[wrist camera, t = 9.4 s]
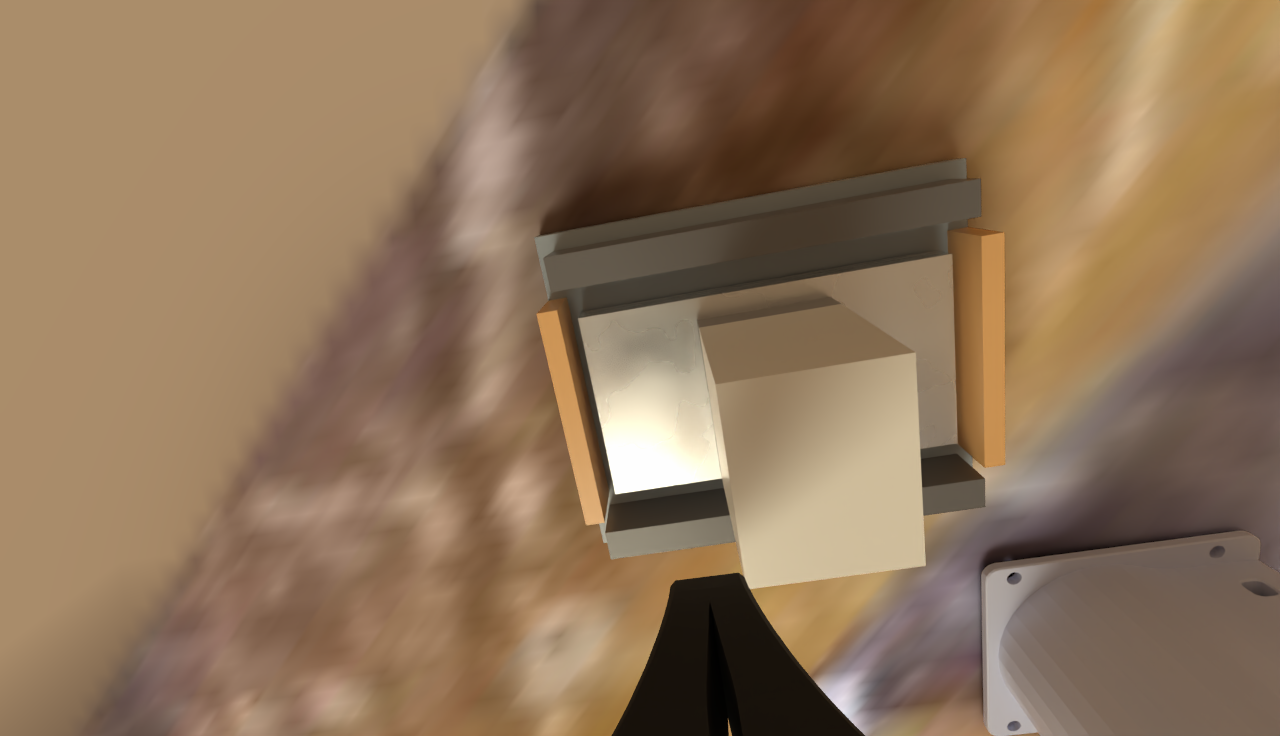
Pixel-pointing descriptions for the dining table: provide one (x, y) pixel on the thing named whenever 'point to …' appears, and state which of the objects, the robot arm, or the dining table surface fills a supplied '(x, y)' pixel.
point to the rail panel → (759, 250)
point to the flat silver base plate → (675, 377)
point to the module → (815, 442)
